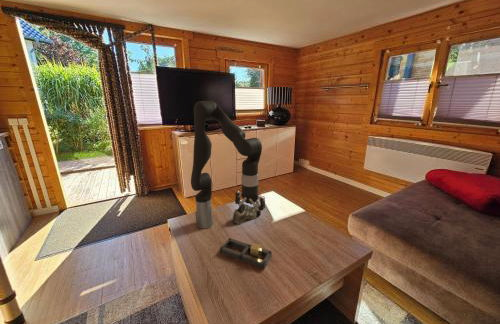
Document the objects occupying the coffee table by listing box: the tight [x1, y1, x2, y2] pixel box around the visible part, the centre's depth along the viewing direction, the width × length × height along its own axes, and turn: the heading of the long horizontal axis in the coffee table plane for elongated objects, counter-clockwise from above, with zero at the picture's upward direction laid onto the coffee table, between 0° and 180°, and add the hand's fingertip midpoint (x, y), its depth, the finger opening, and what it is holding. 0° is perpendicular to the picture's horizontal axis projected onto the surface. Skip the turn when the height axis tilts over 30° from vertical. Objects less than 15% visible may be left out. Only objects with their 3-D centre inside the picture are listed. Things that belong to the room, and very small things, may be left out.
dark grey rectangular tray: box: [219, 238, 273, 270], centre depth 105 cm, size 24×9×3 cm, turn 63°
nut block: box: [249, 242, 263, 260], centre depth 102 cm, size 4×4×7 cm
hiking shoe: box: [231, 203, 258, 225], centre depth 138 cm, size 9×21×12 cm, turn 130°
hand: (249, 214), depth 100 cm, fingers open, 8 cm apart
